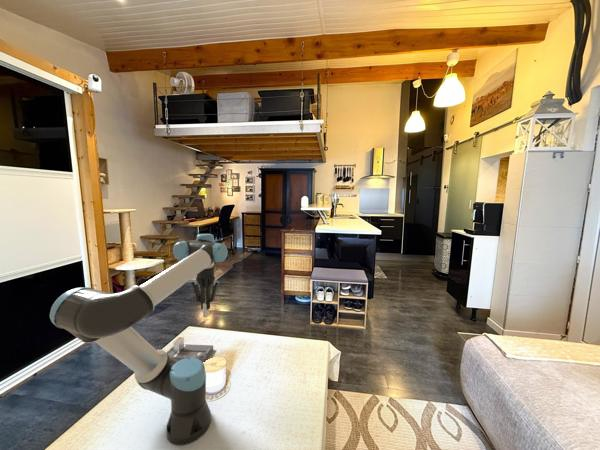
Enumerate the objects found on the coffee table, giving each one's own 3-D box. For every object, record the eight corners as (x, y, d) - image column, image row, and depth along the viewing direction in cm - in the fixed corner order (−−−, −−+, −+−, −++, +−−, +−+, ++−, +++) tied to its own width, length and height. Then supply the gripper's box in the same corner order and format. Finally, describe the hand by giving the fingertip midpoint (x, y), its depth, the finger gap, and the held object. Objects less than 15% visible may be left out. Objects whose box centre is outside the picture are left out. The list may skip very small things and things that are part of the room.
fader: (179, 353, 130) (178, 342, 129) (173, 352, 130) (173, 342, 129) (184, 347, 135) (183, 337, 134) (178, 347, 135) (178, 336, 134)
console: (204, 363, 126) (203, 355, 125) (162, 361, 127) (162, 354, 126) (213, 349, 138) (213, 342, 137) (175, 348, 139) (175, 341, 138)
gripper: (222, 265, 117) (221, 312, 118) (195, 264, 117) (195, 312, 118) (216, 269, 109) (216, 319, 111) (188, 268, 110) (188, 319, 111)
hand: (205, 315), depth 115 cm, fingers closed
